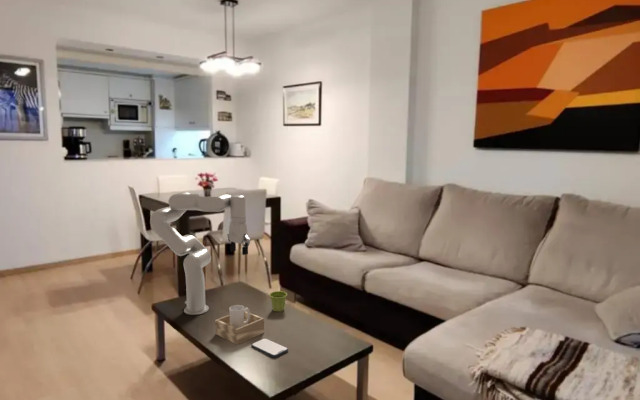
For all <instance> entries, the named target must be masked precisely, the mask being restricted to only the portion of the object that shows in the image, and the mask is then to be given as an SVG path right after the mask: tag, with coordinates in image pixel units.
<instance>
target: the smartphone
mask: <svg viewBox="0 0 640 400" xmlns="http://www.w3.org/2000/svg"><path fill="white" fill-rule="evenodd" d="M250 347H251V348H253V349H255V350H257V351H258V352H260V353H263V354H264V355H266V356H268V357H270V358H272V359H277V358H279V357H280V356H283V355H284V354H287V353H288V352H289V349H288V347H287V346H284V345H281V344H279V343H278V342H274V341H272V340H270V339H268V338H262V339H260V340H257V341H255V342H253V343H251V345H250Z"/></svg>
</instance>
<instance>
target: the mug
mask: <svg viewBox="0 0 640 400" xmlns="http://www.w3.org/2000/svg"><path fill="white" fill-rule="evenodd" d="M228 309H229V313H228V314H229V315H230V325H231V326H233V327H235V328H240V327H242V326H244V325H246V324H248V323H249V319H250V313H251V311H250V309H249V308H248V307H247V306H246V307H245V306H244V305H241V304H240V305H239V304H235V305H231V306H230V307H229V308H228ZM245 311H246V312H247V313H248V318H247V320H246V321H245V322H244V312H245Z"/></svg>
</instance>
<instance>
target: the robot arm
mask: <svg viewBox="0 0 640 400" xmlns="http://www.w3.org/2000/svg"><path fill="white" fill-rule="evenodd" d="M168 205H169V206H166V207H162V208H158V209H156V210H155V211H154V212H152V213H151V216H150V219H149V224H150V227H151V229H152V231H153V232H154V233H155V234H156V235H157V236H158V237H159V238H160V239H161V240H162V241H163V242H164V244H165V245H167V246H168V248H169V249H170V250H171V251H172V252H173V253H174V254H175V255H176V256H178V257H182V256H185V255H187V256H186V257H184V259H183V263H182V264H183V269H184V273H185V274H184V276H185V286H186V289H185V291H186V293H185V294H186V300H185V301H184V304H186V306H185V308H184V309H183V312H184V313H185V314H186V315H188V316H189V315H191V316H194V315H195V316H197V315H201V314H205V313H207V312H208V311H209V306H208V305H207V304H206V283H205V273H204V271H203V268H204V267H206V266H207V265H208V264H210V262H211V261H212V256H211V253H210V251H209V250H208V248H207V247H206V246H204V244H203V243H202V242H201V241H200V240H199V239H198V238H197V237H196V236H194V235H192V234H185V235H181V234H180V232H178V230H177V229H176V228H174V227H173V226H171V225H169V224H171V223H172V222H175V221H177V220H179V219H180V218H181V217H182V216H183V214H185V213H186V212H187V211H200V212H206V213H207V212H208V213H209V212H210V213H215V212H219V213H220V212H223V211H225V210H228V209H229V210H230V221H229V227H228V234H227V235H226V237H227V238H228V244H229V251H230V252H235V251H237V248H236V244H241V246H242V247H241V250H242V251H241V255H243V256H246V255H248V254H249V246H250V244H251V243H250V242H252V239H251V238H250V237H249V236H248V226H247V223H246V222H247V221H246V220H247V219H246V218H247V217H246V215H247V214H246V213H247V211H246V197H245V196H244V195H239V194H238V195H231V194H227V193H226V194H224V193H223V194H220V195H218V196H202V194H200V193H189V192H187V191H182V192H177V193H173V194H172V195H171V196H170V197H169V198H168Z"/></svg>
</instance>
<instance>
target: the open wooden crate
mask: <svg viewBox="0 0 640 400" xmlns="http://www.w3.org/2000/svg"><path fill="white" fill-rule="evenodd" d="M247 318H248V313H247V312H246V311H245V312H244V322H245V321H246V320H247ZM214 322H215V324H214V325H215V335H217V336H219V337H221V338H223V339H225V340H227V341H228V342H231V343H232V344H235V345H240V344H242V343H244V342H247V341H249V340H251V339H253V338H256V337H258V336H260V335H262V334H264V333H265V318H264V317H261V316H259V315H256V314H255V313H251V312H250V319H249V323H248V324H246V325H244V326H242V327H240V328H235V327H233V326H231V325H230V314H227V315H225V316H222V317H220V318H217V319H215V321H214Z"/></svg>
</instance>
